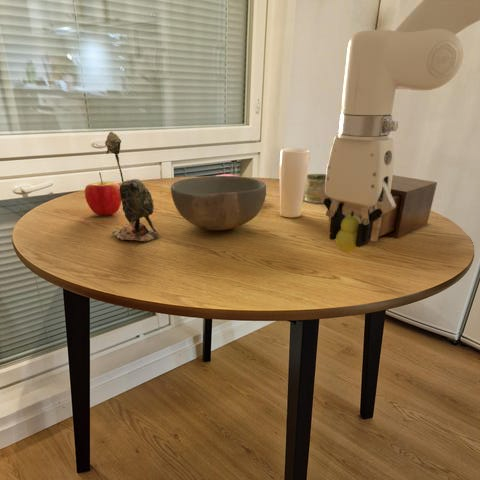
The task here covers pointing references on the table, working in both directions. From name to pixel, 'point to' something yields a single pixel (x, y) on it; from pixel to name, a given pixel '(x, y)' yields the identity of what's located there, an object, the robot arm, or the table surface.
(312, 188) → the vessel
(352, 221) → the pear
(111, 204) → the apple
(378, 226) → the drawer
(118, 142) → the stone bird figurine
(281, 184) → the drinking glass
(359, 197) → the robot arm
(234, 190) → the bowl
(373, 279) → the table surface
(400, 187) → the cabinet
